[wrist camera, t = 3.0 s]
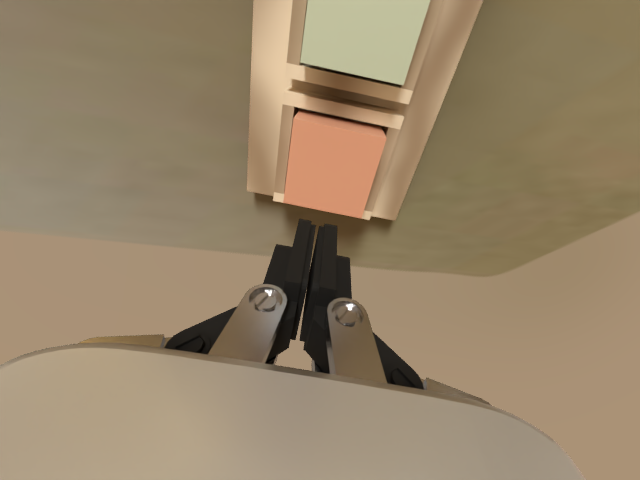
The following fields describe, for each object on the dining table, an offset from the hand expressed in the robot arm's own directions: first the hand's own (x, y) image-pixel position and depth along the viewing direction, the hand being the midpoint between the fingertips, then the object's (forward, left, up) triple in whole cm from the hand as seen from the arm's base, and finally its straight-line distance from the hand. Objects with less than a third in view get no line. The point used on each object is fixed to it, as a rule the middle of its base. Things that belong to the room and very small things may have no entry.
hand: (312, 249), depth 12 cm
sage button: (0, -9, -12) cm, 15 cm away
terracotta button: (0, 0, -12) cm, 12 cm away
